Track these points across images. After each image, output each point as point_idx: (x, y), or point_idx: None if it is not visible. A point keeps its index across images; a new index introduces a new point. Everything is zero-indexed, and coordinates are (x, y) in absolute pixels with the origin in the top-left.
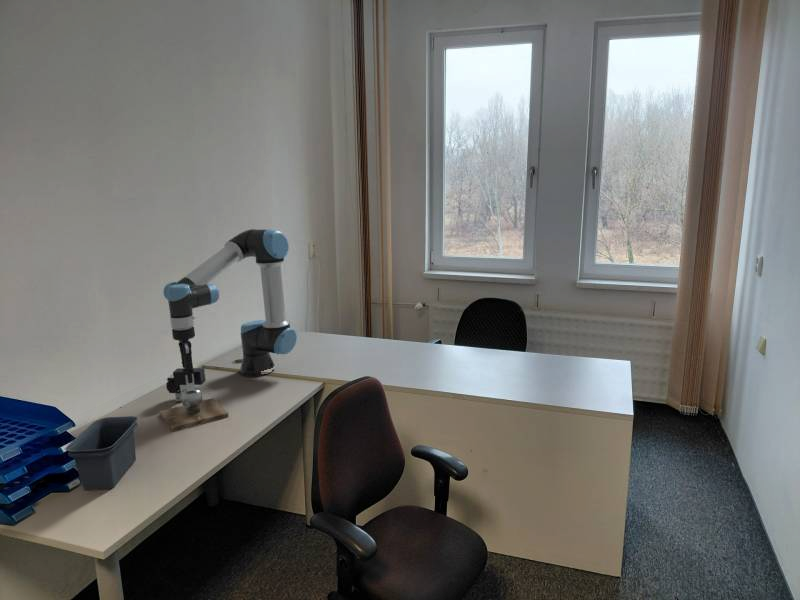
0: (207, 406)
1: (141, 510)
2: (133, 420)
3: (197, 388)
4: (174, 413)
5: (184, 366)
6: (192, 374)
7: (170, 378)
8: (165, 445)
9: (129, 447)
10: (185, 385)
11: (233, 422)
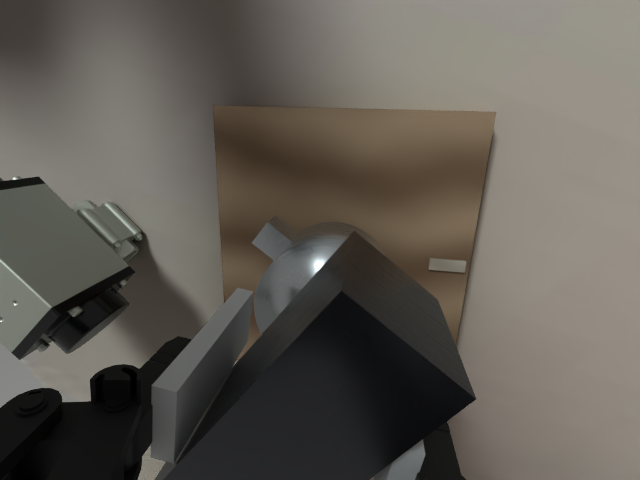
0: (315, 176)
1: None
2: None
3: (311, 266)
4: None
5: (136, 462)
6: (420, 451)
7: (32, 346)
8: (556, 431)
9: None
10: (247, 338)
11: (591, 118)
